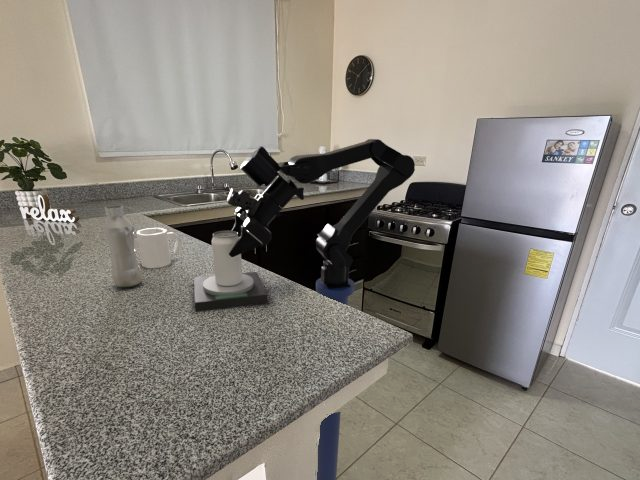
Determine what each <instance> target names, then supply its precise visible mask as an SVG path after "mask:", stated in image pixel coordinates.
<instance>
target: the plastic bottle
mask: <svg viewBox="0 0 640 480" xmlns="http://www.w3.org/2000/svg"><path fill="white" fill-rule="evenodd" d="M104 210H105V216H107V218H106V220H105V222H104V224H103V226H102V227H103V228H102V232H103V233H102V234H103V235H104V238H105V241H106V243H107V247H108V250H109V252H110V253H109V255H110V260H111V279H112V281H113V283H114V284H115V286H117V287H118V288H119V287H120V288H130V287H134V286H137V285H139V284H140V283H141V282H142V279H143V272H142V270H141V267H140V265H139V261H138V258H137V254H136V249H135V248H136V247H135V227H134V225H133V223H132V222H131V221H130V220H129V219H128V218H127V217H126V216H125V214H126V212H125V210H124V206H123V205H107V206H104Z"/></svg>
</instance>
